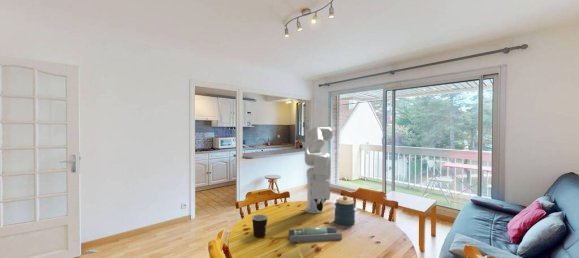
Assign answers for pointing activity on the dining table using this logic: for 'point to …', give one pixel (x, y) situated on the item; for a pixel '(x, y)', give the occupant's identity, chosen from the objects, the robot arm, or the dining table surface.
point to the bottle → (311, 231)
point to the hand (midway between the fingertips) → (319, 210)
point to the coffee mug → (259, 225)
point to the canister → (344, 211)
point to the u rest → (314, 236)
